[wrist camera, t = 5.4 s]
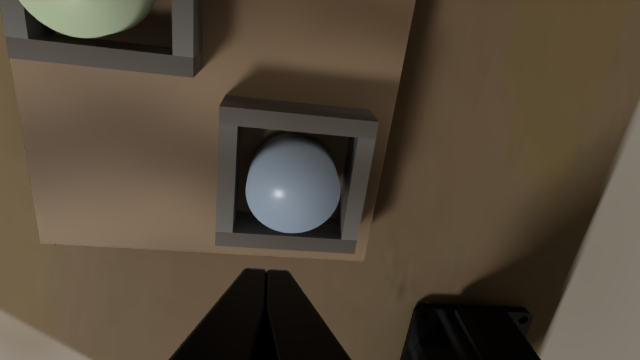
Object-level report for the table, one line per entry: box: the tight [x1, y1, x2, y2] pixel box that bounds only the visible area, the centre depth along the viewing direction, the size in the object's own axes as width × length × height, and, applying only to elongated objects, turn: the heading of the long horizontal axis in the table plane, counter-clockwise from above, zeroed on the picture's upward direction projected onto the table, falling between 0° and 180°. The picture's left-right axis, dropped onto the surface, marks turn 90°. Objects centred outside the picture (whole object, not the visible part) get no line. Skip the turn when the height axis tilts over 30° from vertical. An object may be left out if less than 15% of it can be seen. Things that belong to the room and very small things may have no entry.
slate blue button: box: [246, 133, 340, 233], centre depth 15 cm, size 3×3×2 cm
